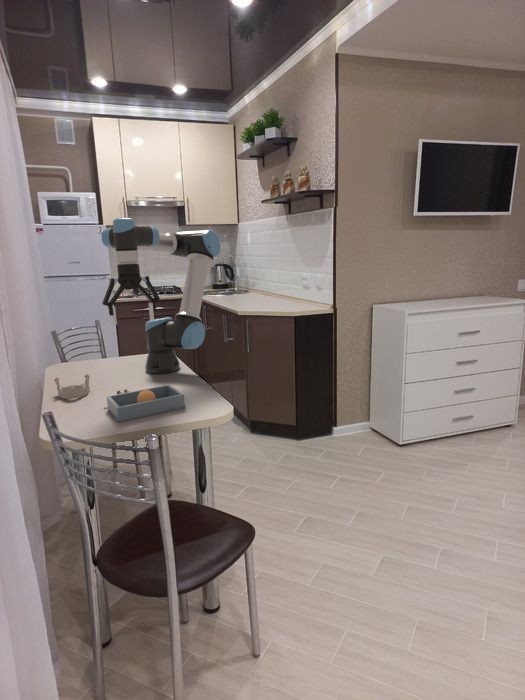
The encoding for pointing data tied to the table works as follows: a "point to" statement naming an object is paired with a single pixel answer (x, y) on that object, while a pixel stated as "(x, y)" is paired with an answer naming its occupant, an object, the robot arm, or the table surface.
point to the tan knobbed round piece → (122, 392)
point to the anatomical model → (73, 389)
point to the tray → (145, 403)
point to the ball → (145, 396)
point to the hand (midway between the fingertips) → (134, 322)
